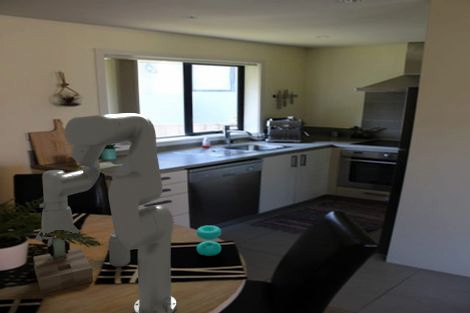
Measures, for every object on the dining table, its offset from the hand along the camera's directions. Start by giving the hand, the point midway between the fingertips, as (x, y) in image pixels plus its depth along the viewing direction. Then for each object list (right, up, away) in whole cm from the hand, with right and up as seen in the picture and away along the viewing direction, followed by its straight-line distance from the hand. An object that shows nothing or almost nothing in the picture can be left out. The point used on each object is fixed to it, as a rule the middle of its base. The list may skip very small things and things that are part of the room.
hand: (59, 253), depth 140 cm
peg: (0, -6, +1) cm, 6 cm away
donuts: (+53, -4, +18) cm, 56 cm away
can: (+20, -6, +7) cm, 22 cm away
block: (+3, -7, -3) cm, 8 cm away
